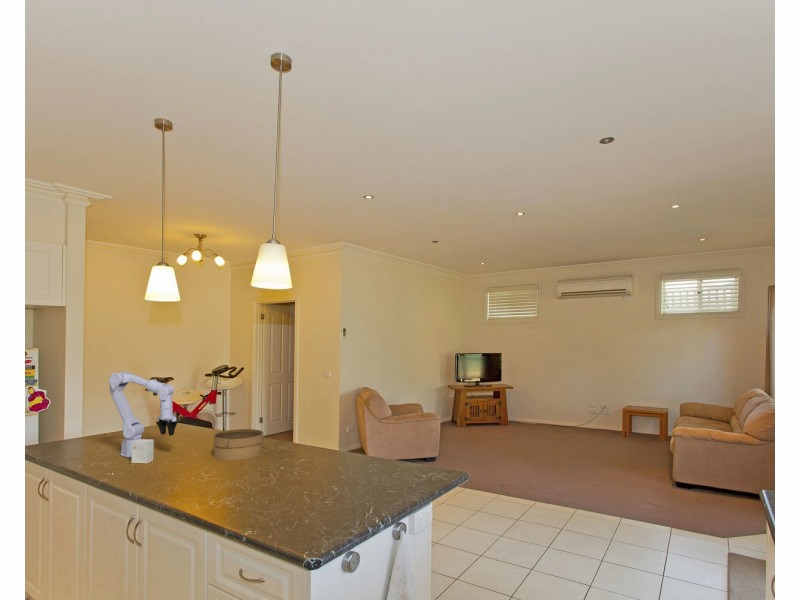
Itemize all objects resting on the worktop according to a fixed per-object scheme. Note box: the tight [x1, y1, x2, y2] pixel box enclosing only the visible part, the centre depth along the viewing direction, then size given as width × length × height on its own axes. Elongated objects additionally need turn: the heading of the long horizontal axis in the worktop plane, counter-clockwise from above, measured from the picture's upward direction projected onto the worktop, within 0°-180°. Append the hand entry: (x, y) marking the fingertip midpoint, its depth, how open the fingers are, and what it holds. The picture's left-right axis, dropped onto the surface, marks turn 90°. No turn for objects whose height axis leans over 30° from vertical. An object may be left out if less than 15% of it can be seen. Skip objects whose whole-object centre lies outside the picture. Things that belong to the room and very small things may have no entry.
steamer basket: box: [213, 428, 264, 461], centre depth 248 cm, size 25×25×11 cm
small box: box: [130, 438, 155, 464], centre depth 233 cm, size 8×6×10 cm
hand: (167, 434), depth 245 cm, fingers open, 7 cm apart
